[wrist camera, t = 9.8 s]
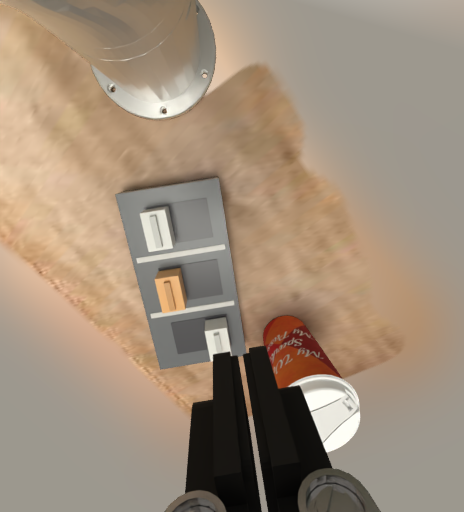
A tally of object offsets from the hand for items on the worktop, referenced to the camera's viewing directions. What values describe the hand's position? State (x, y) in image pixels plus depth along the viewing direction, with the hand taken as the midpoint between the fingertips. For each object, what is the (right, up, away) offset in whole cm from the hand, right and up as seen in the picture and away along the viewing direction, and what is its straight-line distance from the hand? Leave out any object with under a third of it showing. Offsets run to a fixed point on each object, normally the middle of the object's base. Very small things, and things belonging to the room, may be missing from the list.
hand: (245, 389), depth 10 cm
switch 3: (-2, -5, +28) cm, 29 cm away
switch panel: (-6, +2, +30) cm, 30 cm away
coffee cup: (+7, -7, +33) cm, 34 cm away
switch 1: (-8, +7, +24) cm, 27 cm away
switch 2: (-7, +1, +26) cm, 27 cm away
